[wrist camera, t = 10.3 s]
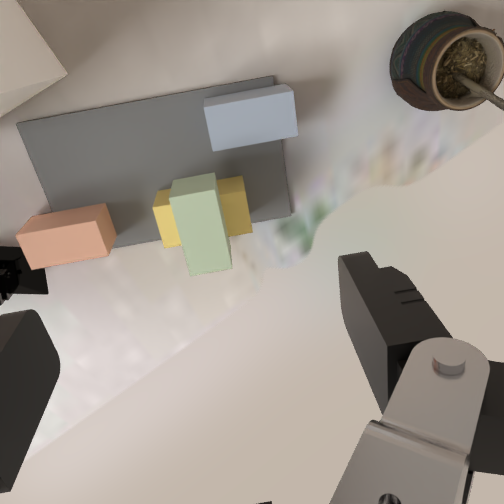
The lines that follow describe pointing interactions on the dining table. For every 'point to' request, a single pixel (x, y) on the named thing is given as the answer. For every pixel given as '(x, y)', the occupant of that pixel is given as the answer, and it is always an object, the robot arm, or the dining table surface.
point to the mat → (148, 159)
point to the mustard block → (231, 204)
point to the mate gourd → (447, 63)
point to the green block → (201, 224)
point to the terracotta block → (67, 236)
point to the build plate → (19, 275)
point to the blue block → (251, 117)
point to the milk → (23, 58)
